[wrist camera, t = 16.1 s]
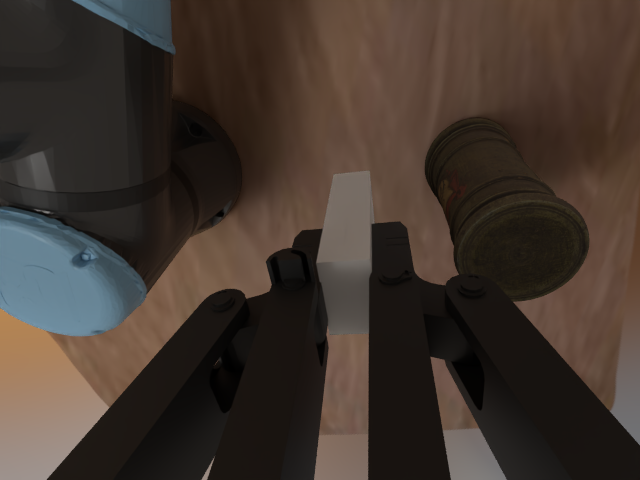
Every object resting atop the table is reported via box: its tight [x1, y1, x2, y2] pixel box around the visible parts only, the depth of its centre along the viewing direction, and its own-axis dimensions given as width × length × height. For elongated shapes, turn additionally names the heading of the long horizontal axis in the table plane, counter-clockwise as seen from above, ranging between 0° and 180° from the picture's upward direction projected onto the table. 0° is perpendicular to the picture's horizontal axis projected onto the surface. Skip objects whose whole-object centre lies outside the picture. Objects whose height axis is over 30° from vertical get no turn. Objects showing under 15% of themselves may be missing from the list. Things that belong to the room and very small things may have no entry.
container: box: [425, 118, 589, 302], centre depth 34 cm, size 9×9×18 cm
